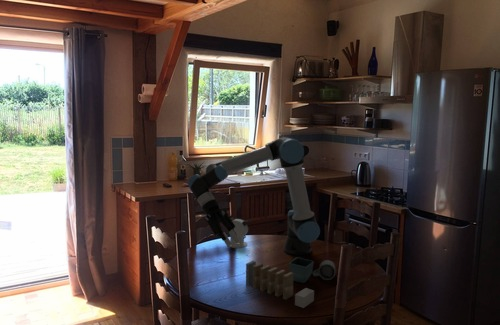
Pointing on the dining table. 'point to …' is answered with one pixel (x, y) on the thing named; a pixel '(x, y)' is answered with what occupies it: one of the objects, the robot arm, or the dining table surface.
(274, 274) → the domino
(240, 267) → the dining table surface
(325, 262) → the ceramic mug
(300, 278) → the flower pot
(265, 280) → the domino
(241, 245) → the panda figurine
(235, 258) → the dining table surface
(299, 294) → the end block
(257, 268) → the domino
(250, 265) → the domino
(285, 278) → the domino
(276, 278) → the domino
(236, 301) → the dining table surface
